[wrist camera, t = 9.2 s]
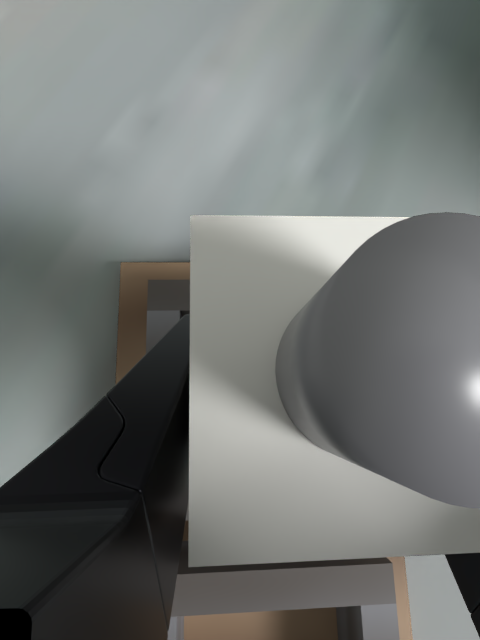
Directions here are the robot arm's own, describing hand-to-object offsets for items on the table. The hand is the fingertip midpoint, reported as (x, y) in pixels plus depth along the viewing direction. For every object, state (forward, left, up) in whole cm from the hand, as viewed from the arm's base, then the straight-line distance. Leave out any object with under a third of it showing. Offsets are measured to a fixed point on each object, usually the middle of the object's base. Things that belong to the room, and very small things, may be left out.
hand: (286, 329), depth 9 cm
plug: (-1, -1, -7) cm, 7 cm away
